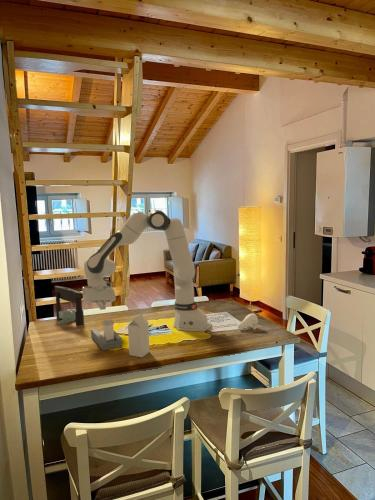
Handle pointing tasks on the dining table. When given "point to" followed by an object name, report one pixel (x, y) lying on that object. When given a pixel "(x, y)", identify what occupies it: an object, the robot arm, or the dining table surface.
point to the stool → (67, 314)
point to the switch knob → (108, 329)
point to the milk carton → (138, 336)
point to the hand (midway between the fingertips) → (103, 309)
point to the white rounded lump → (249, 322)
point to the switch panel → (109, 343)
